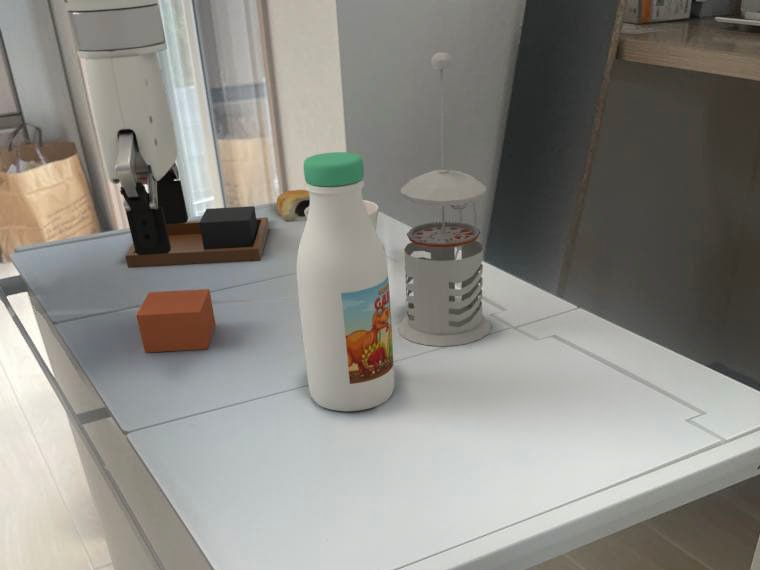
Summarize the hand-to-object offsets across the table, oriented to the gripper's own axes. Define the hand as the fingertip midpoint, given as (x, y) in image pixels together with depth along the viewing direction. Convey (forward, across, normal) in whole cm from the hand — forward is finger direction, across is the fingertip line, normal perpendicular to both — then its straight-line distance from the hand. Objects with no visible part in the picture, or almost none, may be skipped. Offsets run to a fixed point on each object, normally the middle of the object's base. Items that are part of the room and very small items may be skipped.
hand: (163, 237), depth 81 cm
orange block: (+10, 0, 0) cm, 10 cm away
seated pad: (+10, -29, +2) cm, 31 cm away
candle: (+11, -22, +16) cm, 30 cm away
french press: (+11, 0, +28) cm, 30 cm away
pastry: (+10, -43, +10) cm, 45 cm away
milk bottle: (+11, +15, +18) cm, 25 cm away
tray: (+10, -29, -2) cm, 31 cm away
